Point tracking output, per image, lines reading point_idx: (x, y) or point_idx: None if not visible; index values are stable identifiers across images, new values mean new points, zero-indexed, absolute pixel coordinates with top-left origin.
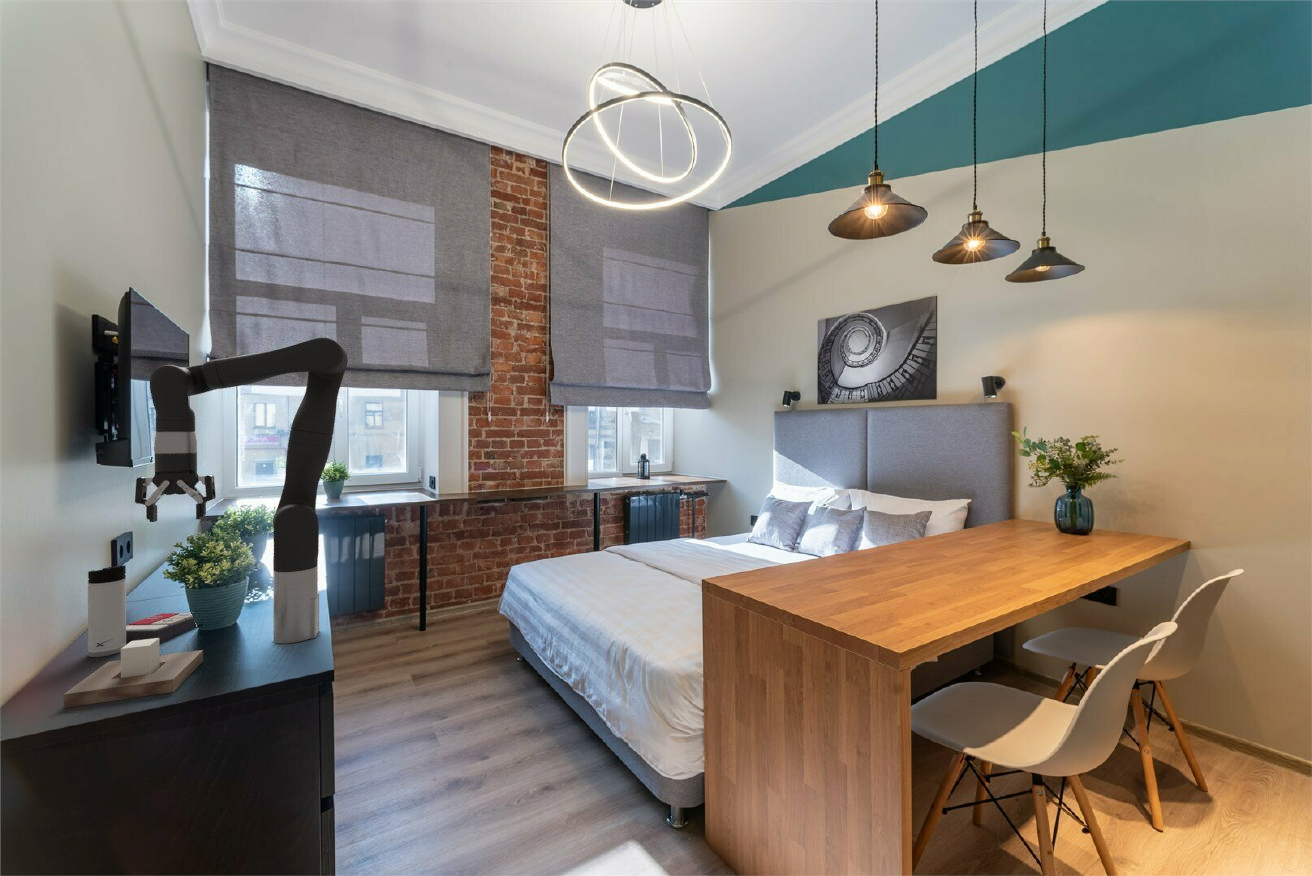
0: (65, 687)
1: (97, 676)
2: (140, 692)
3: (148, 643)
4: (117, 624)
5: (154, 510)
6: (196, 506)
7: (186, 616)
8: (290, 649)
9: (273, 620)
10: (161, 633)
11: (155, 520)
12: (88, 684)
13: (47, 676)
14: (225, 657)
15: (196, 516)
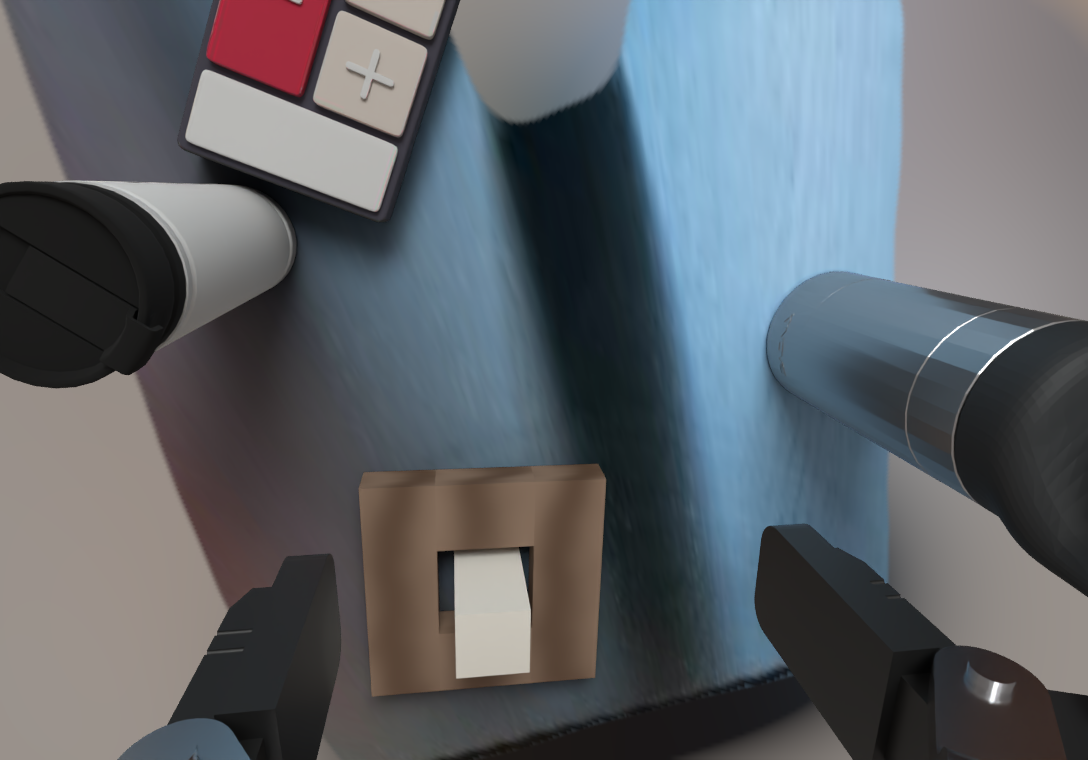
0: (298, 541)
1: (391, 602)
2: None
3: (518, 654)
4: (257, 289)
5: (307, 738)
6: (849, 744)
7: (422, 12)
8: (814, 451)
9: (804, 372)
10: (393, 200)
11: (334, 600)
12: (398, 651)
13: (181, 431)
14: (651, 453)
15: (773, 639)
